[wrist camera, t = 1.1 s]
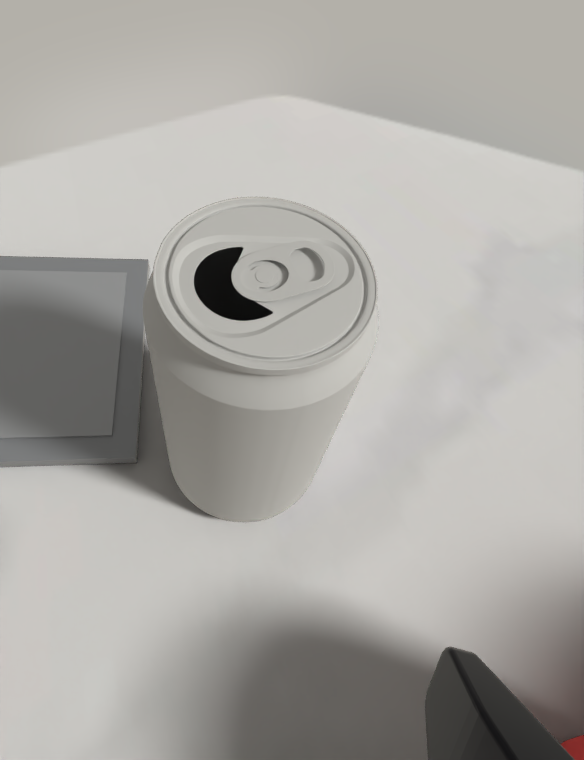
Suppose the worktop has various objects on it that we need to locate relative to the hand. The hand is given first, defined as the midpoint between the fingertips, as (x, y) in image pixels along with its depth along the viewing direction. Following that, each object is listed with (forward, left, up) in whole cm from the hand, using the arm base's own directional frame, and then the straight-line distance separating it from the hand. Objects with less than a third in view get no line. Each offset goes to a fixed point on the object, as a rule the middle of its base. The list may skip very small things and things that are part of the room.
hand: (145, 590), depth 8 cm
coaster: (+4, +14, -13) cm, 20 cm away
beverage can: (+7, +3, -14) cm, 16 cm away
